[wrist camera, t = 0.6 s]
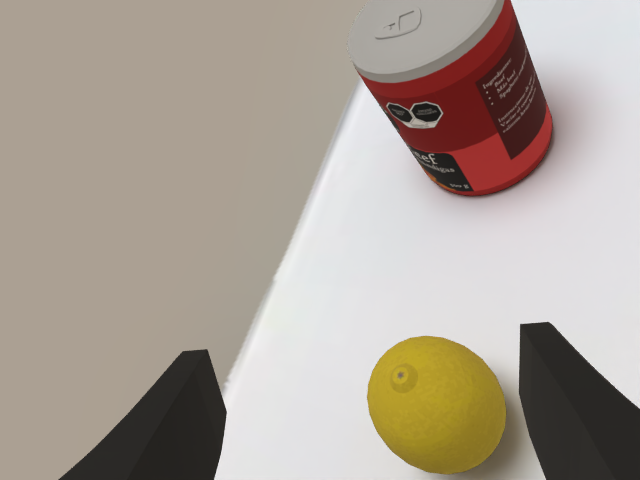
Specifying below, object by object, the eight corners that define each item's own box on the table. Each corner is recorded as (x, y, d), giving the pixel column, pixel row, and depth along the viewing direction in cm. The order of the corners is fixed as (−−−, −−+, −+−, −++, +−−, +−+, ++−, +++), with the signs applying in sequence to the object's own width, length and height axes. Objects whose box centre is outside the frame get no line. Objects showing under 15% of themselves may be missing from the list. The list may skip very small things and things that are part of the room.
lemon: (464, 516, 27) (389, 481, 21) (393, 425, 31) (314, 375, 25) (552, 431, 27) (501, 373, 21) (470, 350, 31) (408, 283, 25)
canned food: (412, 138, 40) (332, 15, 32) (525, 76, 38) (468, -73, 30) (447, 222, 35) (363, 102, 28) (578, 157, 33) (527, 5, 25)
